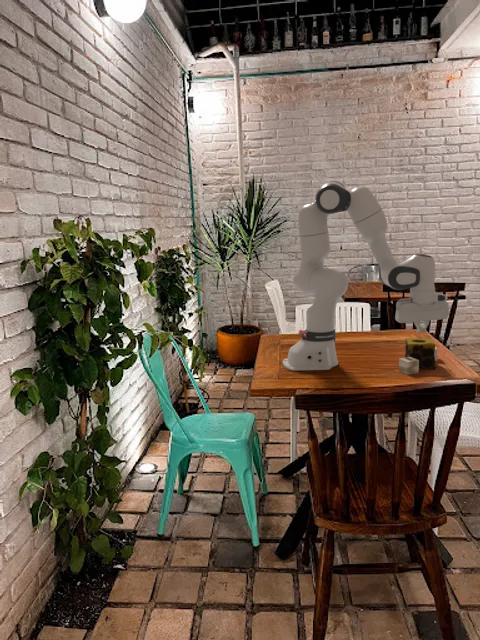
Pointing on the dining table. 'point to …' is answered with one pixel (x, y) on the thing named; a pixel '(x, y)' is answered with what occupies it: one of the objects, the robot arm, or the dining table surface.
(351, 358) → the dining table surface
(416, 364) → the beech block marked
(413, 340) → the candle
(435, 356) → the cream block marked
